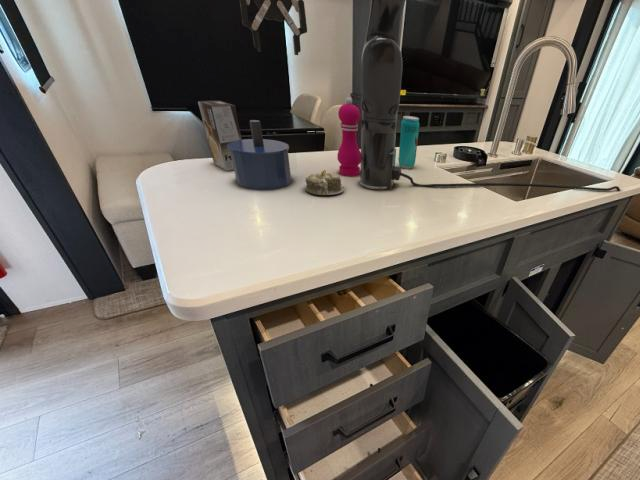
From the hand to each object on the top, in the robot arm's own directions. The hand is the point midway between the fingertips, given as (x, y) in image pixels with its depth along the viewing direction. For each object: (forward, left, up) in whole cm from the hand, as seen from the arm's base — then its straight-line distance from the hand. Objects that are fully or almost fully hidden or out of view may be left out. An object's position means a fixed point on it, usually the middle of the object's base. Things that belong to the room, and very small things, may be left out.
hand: (278, 53), depth 79 cm
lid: (+3, +11, -20) cm, 23 cm away
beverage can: (-32, -21, -28) cm, 48 cm away
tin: (+3, +11, -28) cm, 30 cm away
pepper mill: (-16, -6, -28) cm, 33 cm away
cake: (-14, +12, -28) cm, 34 cm away
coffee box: (+18, +2, -28) cm, 34 cm away
